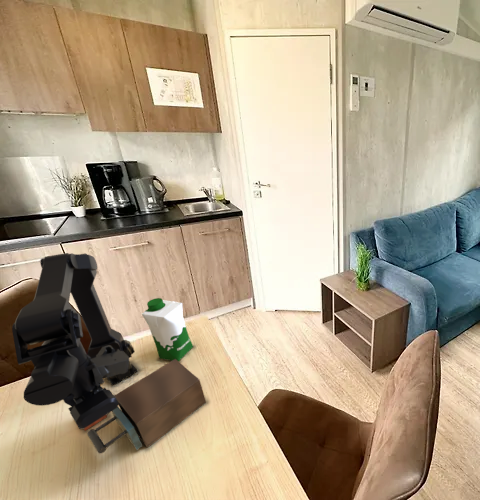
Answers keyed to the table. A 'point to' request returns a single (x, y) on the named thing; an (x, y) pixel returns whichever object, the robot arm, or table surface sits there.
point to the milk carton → (168, 328)
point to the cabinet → (161, 401)
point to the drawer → (127, 431)
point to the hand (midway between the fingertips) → (97, 416)
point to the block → (95, 422)
